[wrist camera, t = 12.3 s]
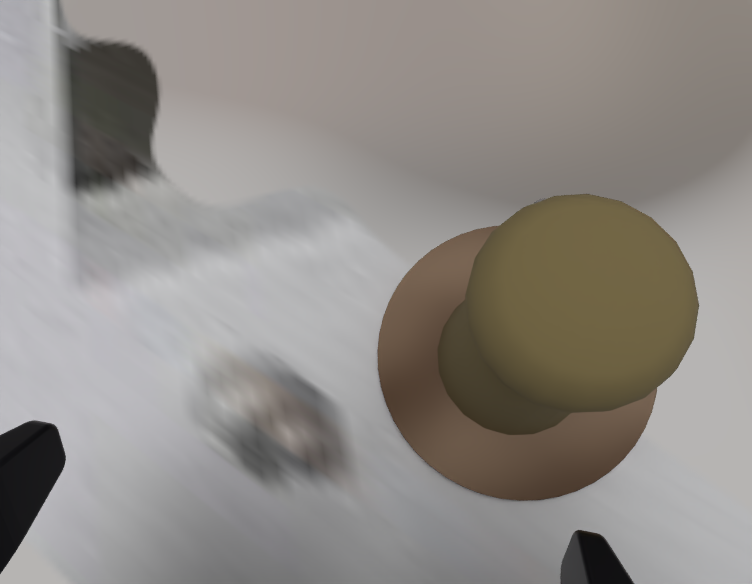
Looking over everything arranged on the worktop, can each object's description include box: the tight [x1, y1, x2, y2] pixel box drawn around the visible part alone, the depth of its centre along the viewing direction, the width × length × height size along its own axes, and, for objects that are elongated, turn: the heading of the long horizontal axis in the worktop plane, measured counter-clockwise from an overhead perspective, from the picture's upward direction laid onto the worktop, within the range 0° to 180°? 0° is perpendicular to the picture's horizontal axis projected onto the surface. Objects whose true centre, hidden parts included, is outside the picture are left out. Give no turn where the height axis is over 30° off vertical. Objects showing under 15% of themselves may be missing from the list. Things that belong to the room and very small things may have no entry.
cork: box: [437, 194, 699, 435], centre depth 17 cm, size 6×6×11 cm
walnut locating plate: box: [378, 199, 657, 501], centre depth 21 cm, size 11×11×4 cm
